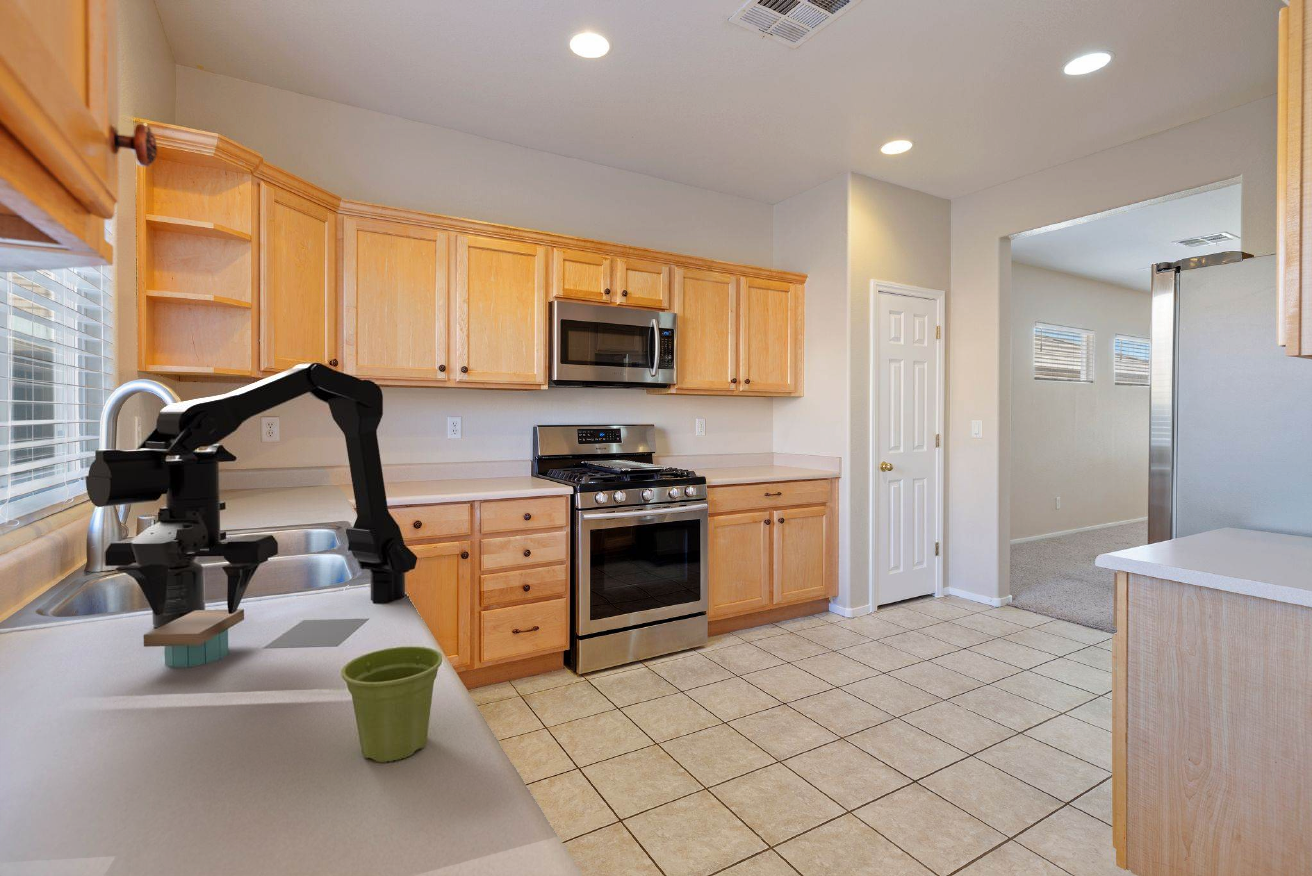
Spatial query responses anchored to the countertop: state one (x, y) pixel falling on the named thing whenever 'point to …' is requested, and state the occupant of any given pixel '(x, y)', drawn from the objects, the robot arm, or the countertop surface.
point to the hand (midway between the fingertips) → (195, 613)
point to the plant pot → (392, 699)
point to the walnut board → (193, 628)
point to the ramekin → (197, 652)
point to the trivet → (317, 633)
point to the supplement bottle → (182, 591)
